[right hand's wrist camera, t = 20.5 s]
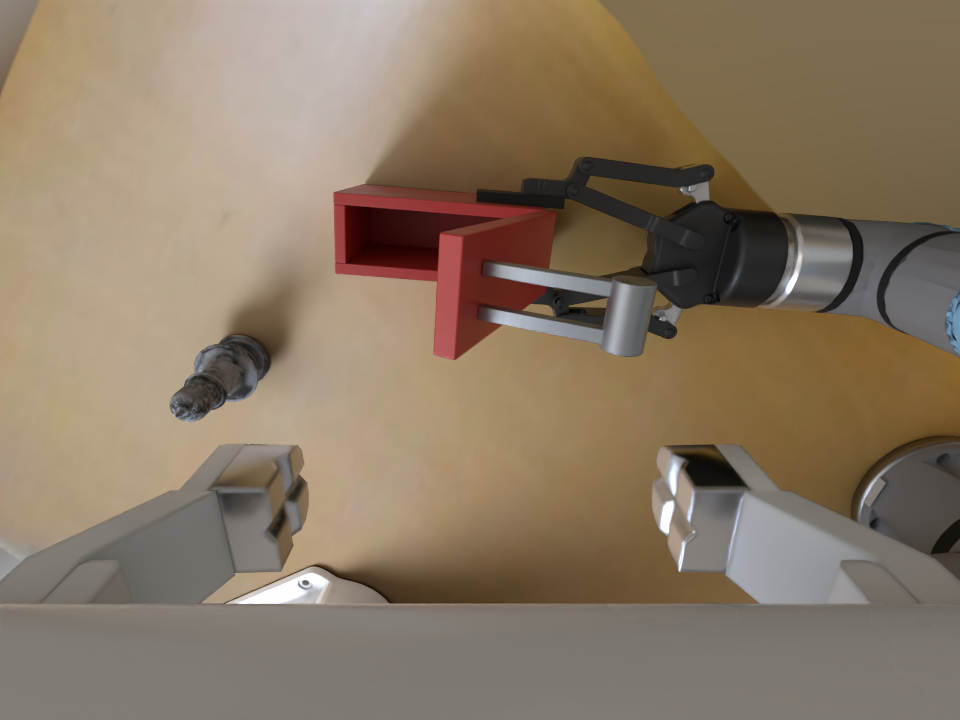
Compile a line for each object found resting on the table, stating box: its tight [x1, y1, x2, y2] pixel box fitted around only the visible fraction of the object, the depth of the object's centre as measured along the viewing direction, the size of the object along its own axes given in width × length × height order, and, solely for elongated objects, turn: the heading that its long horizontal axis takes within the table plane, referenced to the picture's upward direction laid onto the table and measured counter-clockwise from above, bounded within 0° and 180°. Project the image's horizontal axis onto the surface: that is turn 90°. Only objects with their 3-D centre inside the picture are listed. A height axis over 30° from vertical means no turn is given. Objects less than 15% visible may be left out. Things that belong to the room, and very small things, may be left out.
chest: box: [334, 184, 547, 281], centre depth 42 cm, size 15×6×10 cm, turn 85°
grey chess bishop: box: [170, 335, 269, 422], centre depth 46 cm, size 6×6×12 cm
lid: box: [434, 210, 657, 360], centre depth 28 cm, size 16×6×9 cm
